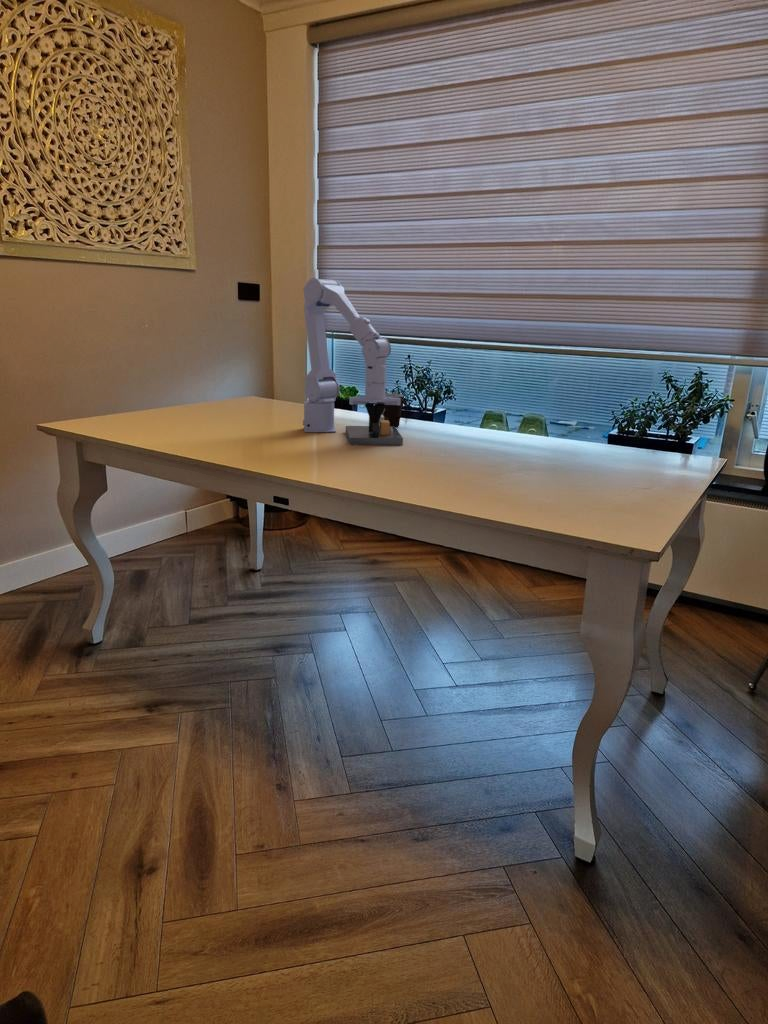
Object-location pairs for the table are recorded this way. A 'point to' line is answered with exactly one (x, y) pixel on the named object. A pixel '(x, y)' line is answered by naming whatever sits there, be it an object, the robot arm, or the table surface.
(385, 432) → the toggle orange
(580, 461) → the table surface
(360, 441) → the panel
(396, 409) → the coffee mug
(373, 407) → the robot arm
